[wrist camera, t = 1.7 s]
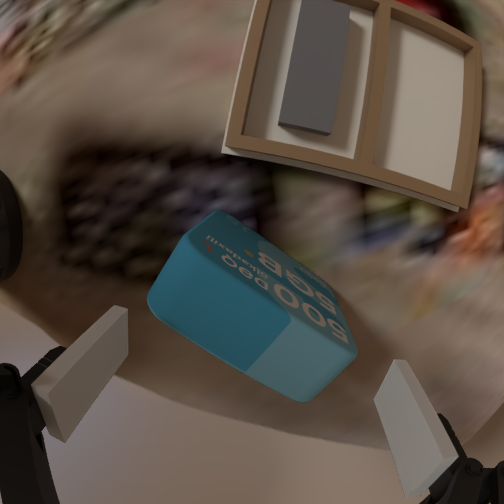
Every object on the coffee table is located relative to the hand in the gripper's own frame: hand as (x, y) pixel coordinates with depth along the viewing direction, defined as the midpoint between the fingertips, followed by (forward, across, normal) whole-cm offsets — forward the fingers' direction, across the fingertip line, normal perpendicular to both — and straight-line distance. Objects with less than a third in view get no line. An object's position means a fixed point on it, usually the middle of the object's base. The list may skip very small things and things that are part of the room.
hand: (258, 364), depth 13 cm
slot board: (+14, +6, +18) cm, 23 cm away
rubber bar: (+13, 0, +18) cm, 22 cm away
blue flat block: (+14, 0, 0) cm, 14 cm away
